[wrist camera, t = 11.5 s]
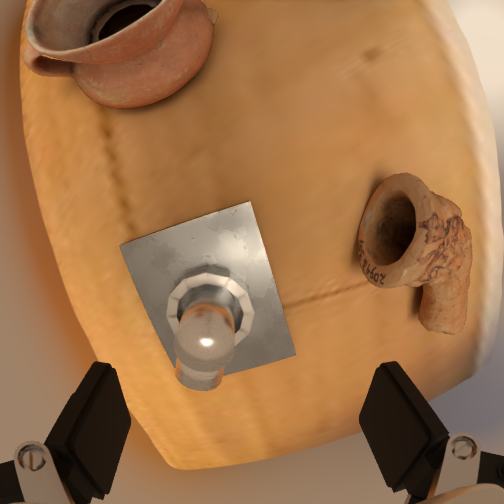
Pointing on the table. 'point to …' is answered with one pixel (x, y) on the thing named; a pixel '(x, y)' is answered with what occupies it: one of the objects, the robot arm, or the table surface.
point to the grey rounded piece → (205, 338)
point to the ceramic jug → (120, 46)
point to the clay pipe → (418, 249)
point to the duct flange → (213, 281)
